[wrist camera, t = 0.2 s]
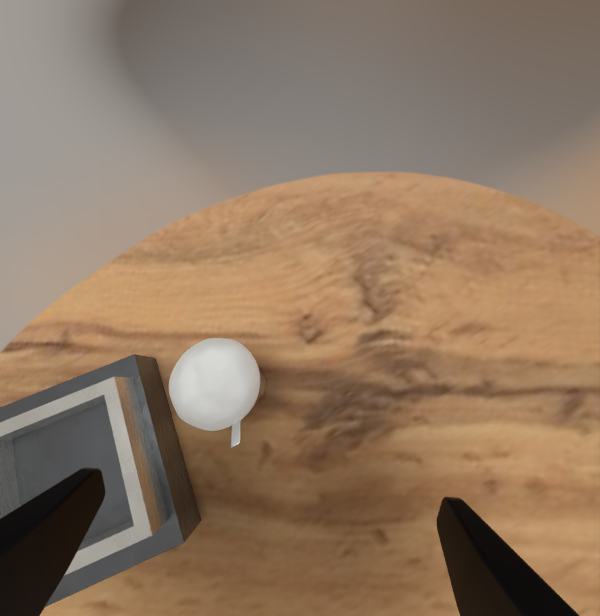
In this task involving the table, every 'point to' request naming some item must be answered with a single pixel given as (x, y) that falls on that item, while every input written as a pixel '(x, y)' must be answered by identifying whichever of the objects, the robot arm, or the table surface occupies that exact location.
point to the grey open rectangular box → (103, 464)
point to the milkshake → (216, 385)
